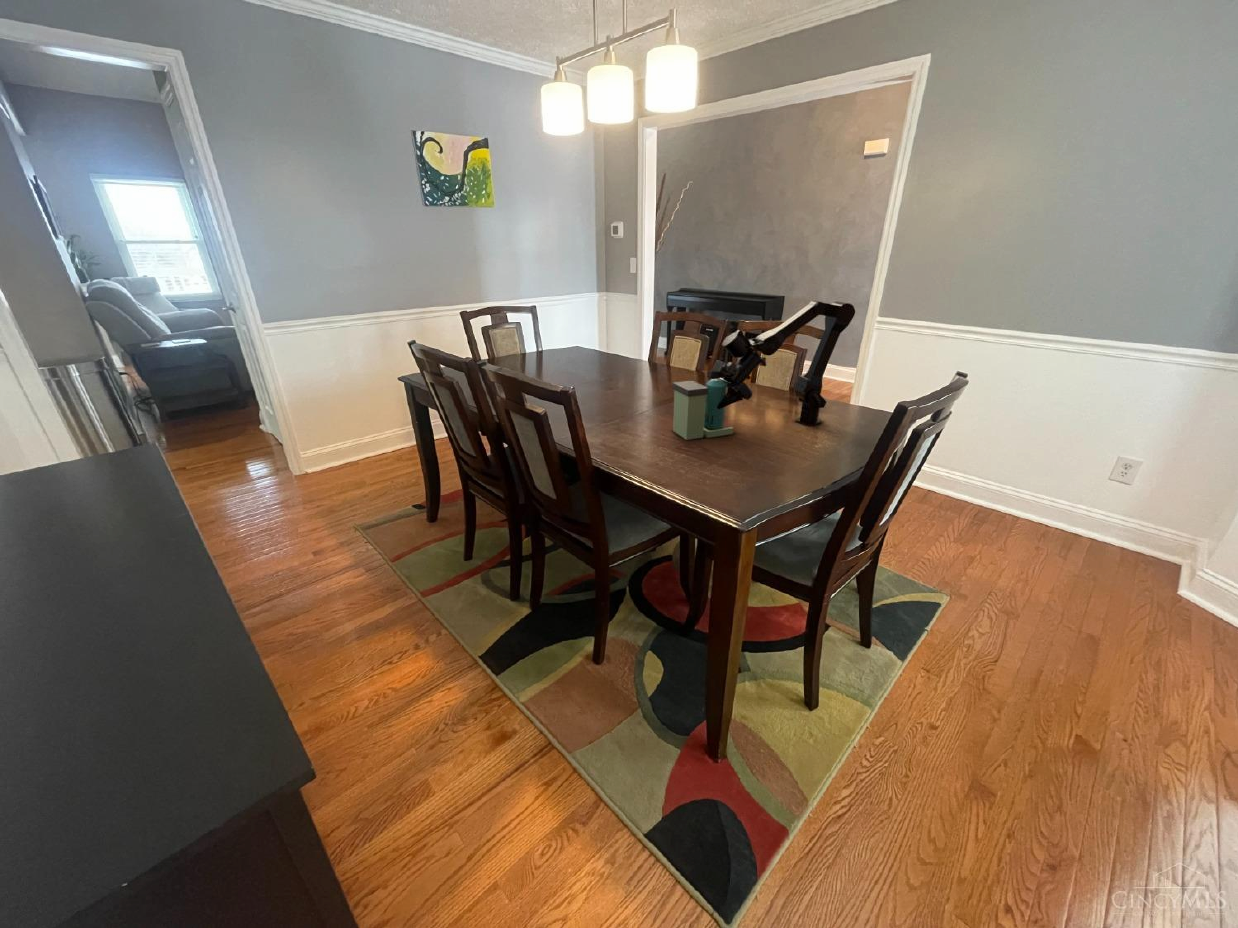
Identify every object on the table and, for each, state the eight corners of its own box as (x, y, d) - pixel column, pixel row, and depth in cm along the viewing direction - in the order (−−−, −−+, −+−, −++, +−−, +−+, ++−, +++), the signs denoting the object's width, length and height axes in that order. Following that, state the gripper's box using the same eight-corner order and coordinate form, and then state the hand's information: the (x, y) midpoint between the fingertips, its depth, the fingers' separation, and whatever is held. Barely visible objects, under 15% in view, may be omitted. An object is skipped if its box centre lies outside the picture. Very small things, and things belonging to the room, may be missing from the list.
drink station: (714, 423, 166) (718, 377, 160) (733, 433, 157) (737, 384, 151) (670, 430, 161) (671, 382, 154) (686, 441, 151) (689, 390, 145)
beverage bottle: (724, 427, 162) (729, 367, 154) (722, 434, 157) (727, 372, 148) (704, 425, 164) (708, 366, 156) (701, 432, 158) (705, 371, 150)
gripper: (713, 346, 159) (682, 382, 160) (747, 356, 144) (712, 397, 144) (732, 367, 165) (701, 403, 166) (767, 380, 149) (733, 419, 150)
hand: (711, 405), depth 156 cm, fingers open, 7 cm apart
